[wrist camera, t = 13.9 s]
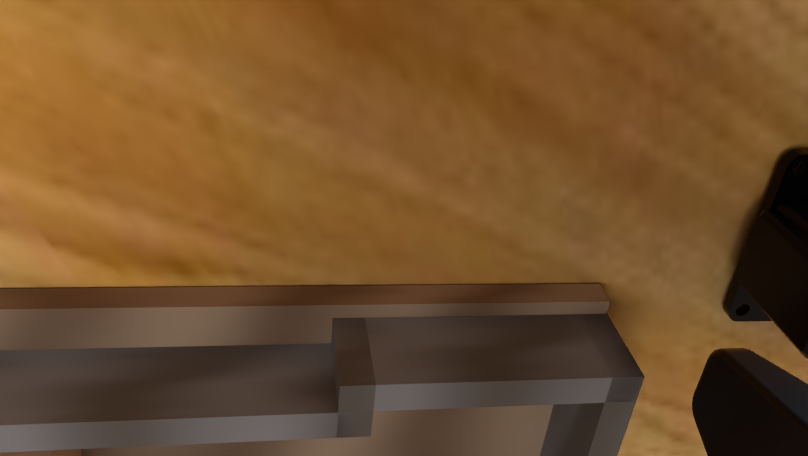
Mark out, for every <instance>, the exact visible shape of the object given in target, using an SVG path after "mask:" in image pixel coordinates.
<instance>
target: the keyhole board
mask: <svg viewBox="0 0 808 456" xmlns="http://www.w3.org/2000/svg"><path fill="white" fill-rule="evenodd" d="M609 305H610V300H609V299H608V297H607V295H606V294H605V292H604V290H603V289H602V287H601V286H600V284H488V285H369V286H250V287H131V288H12V289H0V453H1V452H24V451H47V450H70V449H81V451H82V456H617V455H618V452H619V449H620V446H621V443H622V440H623V437H624V434H625V431H626V429H627V426H628V423H629V420H630V417H631V414H632V411H633V408H634V405H635V403H636V400H637V397H638V394H639V391H640V388H641V385H642V382H643V379H644V375H643V373H642V372H641V370H640V368H639V367H638V365H637V363H636V362H635V360H634V358H633V357H632V355H631V353H630V352H629V350H628V348H627V347H626V345H625V343H624V342H623V340H622V338H621V337H620V335H619V333H618V332H617V330H616V328H615V327H614V325H613V323H612V322H611V320H610V318H609V317H608V315H607V311H608V308H609Z"/></svg>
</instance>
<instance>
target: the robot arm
mask: <svg viewBox="0 0 808 456" xmlns="http://www.w3.org/2000/svg"><path fill="white" fill-rule="evenodd" d="M799 162H801V163H800V165H799V166H798V167H797V168H795V169H793V168H794V167H795V165H796V164H798V163H799ZM741 305H742V306H741ZM739 306H741V307H739ZM738 307H739V308H738ZM723 309H724V311H725V312H726V314H727V315H728V316H729V317H730V318H731V319H732V320H733V321H773V322H774V323H775V324H776V325H777V326H778V328H779V329H780V330H781V331H782V332H783V333H784V334H785V336H786V337H787V338H788V339H789V340H790V341H791V342H792V343H793V345H794V346H795V347H796V348H797V349H798V350H799V351H800V353H801V354H802V355H803V356H804V357H806V358H808V149H803V148H798V149H793V150H791V151H789V152H787V153H786V154H785V155H784V156H783V157H782V158H781V160H780V162H779V164H778V166H777V169H776V171H775V174H774V176H773V179H772V182H771V184H770V187H769V189H768V192H767V194H766V197H765V199H764V202H763V205H762V207H761V210H760V212H759V215H758V217H757V220H756V222H755V225H754V228H753V230H752V233H751V235H750V238H749V240H748V243H747V245H746V248H745V251H744V253H743V256H742V258H741V261H740V263H739V266H738V268H737V271H736V274H735V276H734V279H733V281H732V284H731V286H730V289H729V291H728V294H727V297H726V299H725V302H724V306H723ZM692 410H693V415H694V419H695V422H696V424H697V427H698V430H699V433H700V436H701V438H702V441H703V444H704V447H705V449H706V452H707V455H708V456H808V384H807V383H805V382H803V381H802V380H800V379H798V378H797V377H795V376H793V375H791V374H790V373H788V372H786V371H785V370H783V369H781V368H780V367H778V366H776V365H775V364H773V363H771V362H770V361H768V360H766V359H765V358H763V357H761V356H759V355H758V354H756V353H754V352H753V351H751V350H748V349H744V348H729V349H717V350H715V351H714V352H713V353H711V354H710V356H709V358H708V360H707V363H706V365H705V368H704V370H703V373H702V375H701V378H700V380H699V383H698V385H697V388H696V390H695V393H694V396H693V401H692Z"/></svg>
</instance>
